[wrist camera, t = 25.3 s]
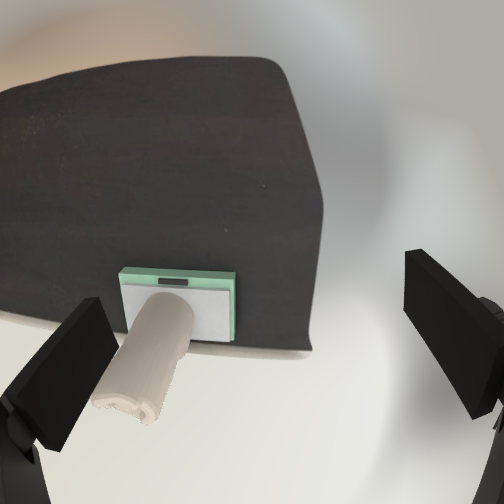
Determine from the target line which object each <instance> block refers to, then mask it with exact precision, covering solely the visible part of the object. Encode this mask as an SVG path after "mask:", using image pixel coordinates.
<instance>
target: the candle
mask: <svg viewBox="0 0 504 504" xmlns="http://www.w3.org/2000/svg"><path fill="white" fill-rule="evenodd" d="M193 321H194V316H193V312H192V309H191V307H190V306H189V304H188V303H187V302H186V301H185V300H184V299H183V298H181V297H180V296H178V295H176V294H173V293H169V292H159V293H155V294H153V295H151V296H150V297H149V298H148V299H147V300H146V302H145V303H144V305H143V306H142V308H141V310H140V311H139V313H138V314H137V316H136V318H135V320H134V322H133V324H132V326H131V328H130V330H129V332H128V335H127V337H126V339H125V340H124V342H123V344H122V346H121V347H120V349H119V351H118V352H117V354H116V355H115V356H114V358H113V359H112V360H111V362H110V364H109V365H108V367H107V369H106V370H105V372H104V374H103V375H102V377H101V379H100V381H99V382H98V384H97V386H96V388H95V389H94V391H93V393H92V395H91V396H90V399H91V402H92V405H93V406H95V407H97V408H100V407H102V406H104V407H105V408H112V407H114V408H115V409H117V410H120V411H123V412H126V413H128V414H131V415H132V416H134V417H136V418H138V419H140V421H141V423H142V424H145V425H149V424H151V423H152V422H154V421H155V420H156V419H157V418H158V416H159V414H160V411H161V408H162V405H163V402H164V399H165V396H166V394H167V391H168V388H169V386H170V384H171V381H172V378H173V374H174V371H175V367H176V364H177V361H178V360H179V359H181V358H182V357H183V356H184V355H185V353H186V351H187V349H188V347H189V342H190V337H191V329H192V325H193Z"/></svg>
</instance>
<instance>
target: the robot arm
mask: <svg viewBox="0 0 504 504" xmlns="http://www.w3.org/2000/svg"><path fill="white" fill-rule="evenodd" d="M404 290H405V291H404V312H405V313H406V314H407V316H408V317H409V319H410V320H411V322H412V323H413V325H414V326H415V328H416V329H417V331H418V332H419V334H420V335H421V337H422V338H423V340H424V341H425V343H426V344H427V346H428V347H429V349H430V350H431V352H432V354H433V355H434V357H435V358H436V360H437V361H438V363H439V364H440V366H441V368H442V369H443V371H444V373H445V374H446V376H447V377H448V379H449V381H450V382H451V384H452V386H453V387H454V389H455V391H456V392H457V394H458V396H459V397H460V399H461V401H462V403H463V404H464V406H465V408H466V410H467V411H468V413H469V415H470V417H471V418H472V420H474V419H477V418H479V417H481V416H483V415H486V414H488V413H490V412H492V411H493V408H494V406H495V404H496V402H497V399H498V398H499V400H500V401H501V403H502V404H503V408H502V410H501V413H500V415H499V417H498V419H497V421H496V423H495V425H494V427H493V429H496V427H497V429H496V433H495V437H494V440H493V444H492V448H491V451H490V455H489V458H488V461H487V464H486V467H485V470H484V473H483V476H482V479H481V482H480V484H479V487H478V490H477V492H476V495H475V498H474V500H473V503H472V504H504V312H503V309H502V308H500V307H499V306H498V305H497V304H496V303H495V302H493V301H491V300H489V299H487V298H485V297H481V298H477V297H475V296H474V295H473V294H472V293H471V292H470V291H469V290H468V289H467V288H466V287H465V286H464V285H463V284H461V283H460V282H459V281H458V280H457V279H456V278H455V277H454V276H453V275H451V274H450V273H449V272H448V271H447V270H446V269H445V268H443V267H442V266H441V265H440V264H439V263H438V262H437V261H435V260H434V259H433V258H432V257H431V256H429V255H428V254H427V253H426V252H425V251H424V250H422V249H417V250H411V251H405V287H404ZM118 348H119V345H118V343H117V340H116V338H115V336H114V333H113V331H112V329H111V326H110V324H109V322H108V319H107V317H106V314H105V312H104V309H103V307H102V304H101V302H100V299H99V297H91V298H85V299H84V300H83V301H82V302H81V303H80V305H79V306H78V307H77V308H76V309H75V310H74V311H73V312H72V313H71V314H70V315H69V316H68V317H67V319H66V320H65V321H64V322H63V323H62V324H61V325H60V326H59V327H58V328H57V330H56V331H55V332H54V333H53V334H52V335H51V336H50V337H49V339H48V340H47V341H46V342H45V343H44V344H43V345H42V347H41V348H40V349H39V350H38V351H37V353H36V354H35V355H34V356H33V357H32V358H31V359H30V361H29V362H28V363H27V364H26V366H25V367H24V368H23V369H22V370H21V371H20V373H19V374H18V375H17V376H16V377H15V379H14V380H13V381H12V383H11V384H10V385H9V386H8V387H7V389H6V390H5V391H4V393H3V394H2V396H1V397H0V504H51V502H50V498H49V495H48V491H47V487H46V484H45V480H44V475H43V472H42V467H41V463H40V457H39V452H38V450H37V448H36V446H35V445H34V444H33V443H34V441H35V440H36V438H37V439H38V441H39V442H40V443H41V444H42V445H43V446H44V448H45V449H48V450H53V451H57V452H60V451H61V450H62V448H63V446H64V444H65V442H66V440H67V438H68V436H69V434H70V433H71V431H72V429H73V427H74V425H75V423H76V421H77V420H78V418H79V416H80V414H81V412H82V411H83V409H84V407H85V405H86V403H87V402H88V400H89V398H90V396H91V395H92V393H93V391H94V389H95V388H96V386H97V384H98V382H99V381H100V379H101V377H102V375H103V374H104V372H105V370H106V369H107V367H108V365H109V364H110V362H111V360H112V359H113V357H114V355H115V353H116V351H117V350H118Z"/></svg>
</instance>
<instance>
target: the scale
mask: <svg viewBox="0 0 504 504" xmlns="http://www.w3.org/2000/svg"><path fill="white" fill-rule="evenodd" d="M119 280H120V286H121V293H122V299H123V305H124V310H125V316H126V321H127V327H128V331H129V330H130V328H131V326H132V324H133V322H134V320H135V318H136V316H137V314H138V313H139V311H140V310H141V308H142V306H143V305H144V303H145V302H146V300H147V299H148V298H149V297H150V296H151V295H153V294H155V293H159V292H169V293H173V294H176V295H178V296H180V297H181V298H183V299H184V300H185V301H186V302H187V303H188V304H189V306H190V307H191V309H192V312H193V316H194V321H193V325H192V329H191V337H190V339H194V340H208V341H224V342H230V340H234V336H235V272H220V271H197V270H176V269H157V268H138V267H124V268H123V269H122V270H121V271H120V272H119Z"/></svg>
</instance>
